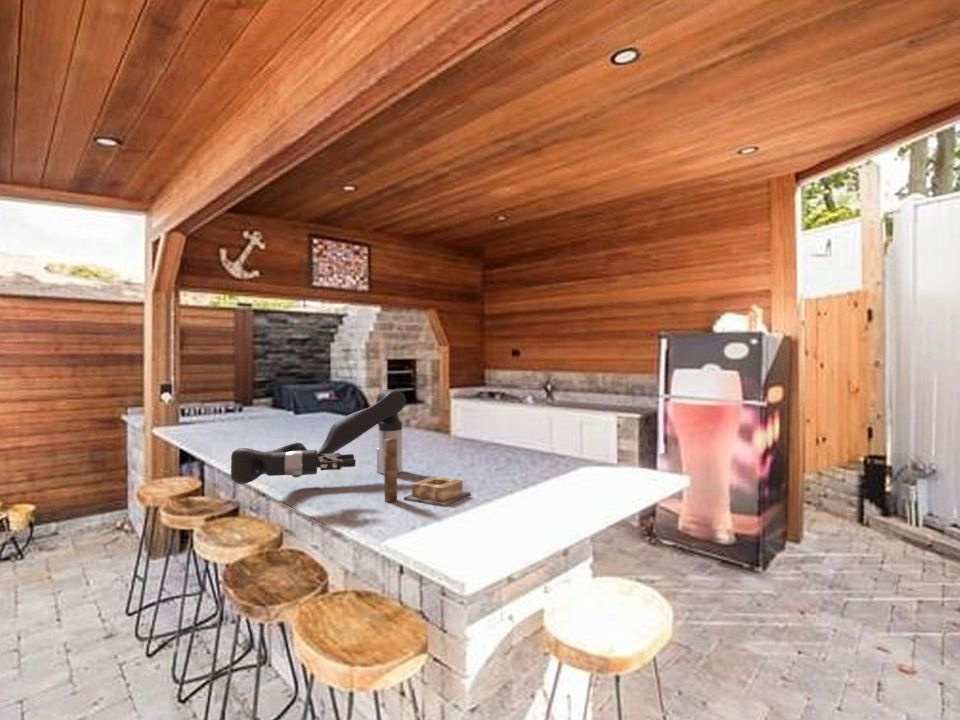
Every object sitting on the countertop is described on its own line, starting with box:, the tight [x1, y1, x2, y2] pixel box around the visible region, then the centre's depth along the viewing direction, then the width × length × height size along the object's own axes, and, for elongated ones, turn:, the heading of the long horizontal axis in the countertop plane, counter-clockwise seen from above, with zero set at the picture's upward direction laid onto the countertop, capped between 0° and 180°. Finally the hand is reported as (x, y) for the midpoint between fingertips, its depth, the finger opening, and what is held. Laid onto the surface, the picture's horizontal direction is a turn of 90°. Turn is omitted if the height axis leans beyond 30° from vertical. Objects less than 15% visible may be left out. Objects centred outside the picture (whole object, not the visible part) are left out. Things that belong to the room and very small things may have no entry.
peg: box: [383, 439, 398, 503], centre depth 176 cm, size 4×4×20 cm
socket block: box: [403, 476, 471, 507], centre depth 180 cm, size 16×16×5 cm
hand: (354, 460), depth 172 cm, fingers open, 8 cm apart
